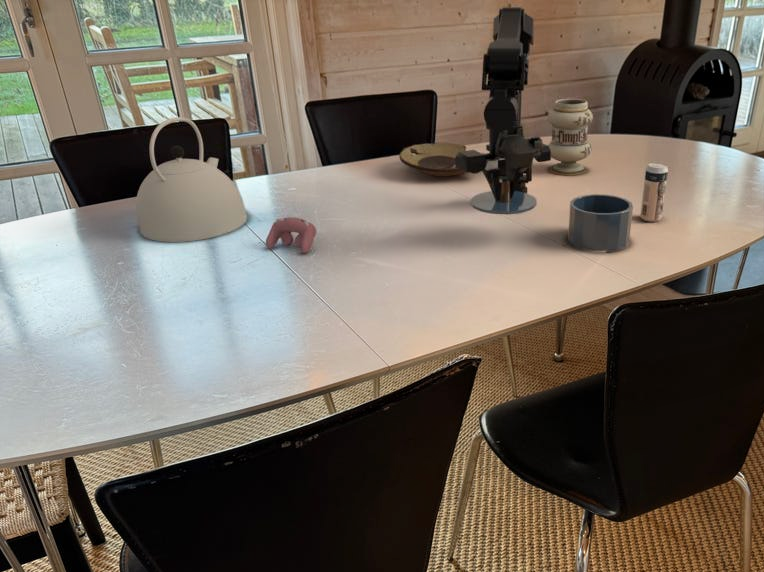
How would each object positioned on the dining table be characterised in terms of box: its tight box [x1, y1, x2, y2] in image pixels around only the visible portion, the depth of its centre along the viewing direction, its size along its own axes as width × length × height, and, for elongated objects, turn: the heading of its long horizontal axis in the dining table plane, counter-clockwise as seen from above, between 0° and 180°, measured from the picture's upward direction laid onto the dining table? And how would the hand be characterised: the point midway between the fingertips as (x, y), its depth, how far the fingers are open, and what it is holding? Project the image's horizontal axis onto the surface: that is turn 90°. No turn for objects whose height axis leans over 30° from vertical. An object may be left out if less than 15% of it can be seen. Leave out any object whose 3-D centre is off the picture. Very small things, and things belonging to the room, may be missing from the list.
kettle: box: [135, 116, 248, 243], centre depth 145 cm, size 25×23×22 cm
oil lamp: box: [398, 142, 486, 177], centre depth 179 cm, size 22×30×8 cm
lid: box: [470, 179, 538, 215], centre depth 134 cm, size 13×13×5 cm
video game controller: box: [265, 216, 317, 254], centre depth 136 cm, size 10×5×7 cm, turn 71°
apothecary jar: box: [547, 98, 594, 176], centre depth 178 cm, size 12×12×18 cm
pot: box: [567, 193, 634, 254], centre depth 136 cm, size 12×12×8 cm
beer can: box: [639, 162, 669, 223], centre depth 146 cm, size 5×5×12 cm
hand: (503, 199), depth 135 cm, fingers closed on lid, 3 cm apart
